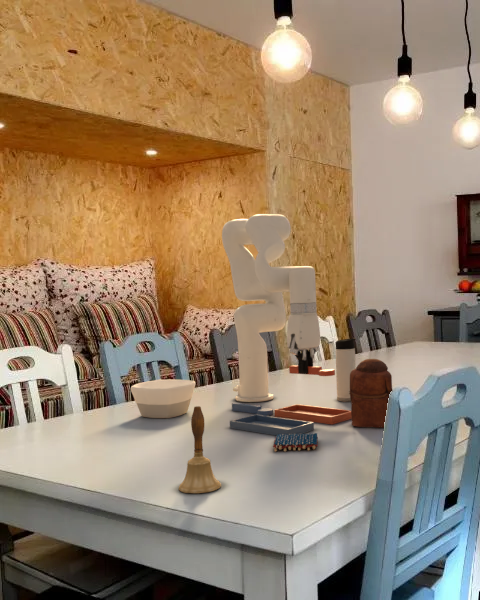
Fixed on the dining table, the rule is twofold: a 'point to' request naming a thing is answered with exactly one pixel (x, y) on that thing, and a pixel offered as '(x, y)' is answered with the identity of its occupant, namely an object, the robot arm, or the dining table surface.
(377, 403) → the wooden figurine
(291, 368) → the terracotta spoon
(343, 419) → the terracotta tray
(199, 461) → the hand bell
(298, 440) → the woven mat
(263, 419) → the slate tray
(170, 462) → the dining table surface
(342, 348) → the travel mug
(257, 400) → the robot arm
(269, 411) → the slate spoon
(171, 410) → the bowl
